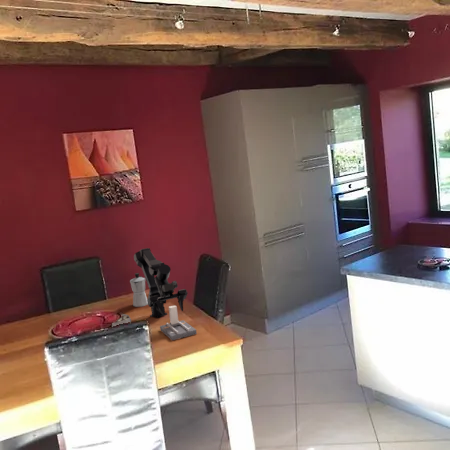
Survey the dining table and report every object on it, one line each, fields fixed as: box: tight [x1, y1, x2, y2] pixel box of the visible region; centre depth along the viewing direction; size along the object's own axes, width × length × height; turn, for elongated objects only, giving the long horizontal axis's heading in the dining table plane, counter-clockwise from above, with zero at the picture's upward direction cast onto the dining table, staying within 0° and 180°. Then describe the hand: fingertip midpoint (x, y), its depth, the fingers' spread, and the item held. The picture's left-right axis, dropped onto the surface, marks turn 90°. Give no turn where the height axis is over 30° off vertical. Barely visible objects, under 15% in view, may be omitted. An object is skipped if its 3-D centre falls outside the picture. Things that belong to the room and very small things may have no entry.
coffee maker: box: [129, 272, 148, 308], centre depth 281 cm, size 15×9×18 cm, turn 179°
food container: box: [111, 313, 132, 328], centre depth 231 cm, size 12×6×10 cm, turn 168°
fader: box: [168, 304, 180, 327], centre depth 236 cm, size 3×4×9 cm
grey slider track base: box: [159, 320, 197, 341], centre depth 234 cm, size 16×12×3 cm
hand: (173, 313), depth 236 cm, fingers open, 9 cm apart
